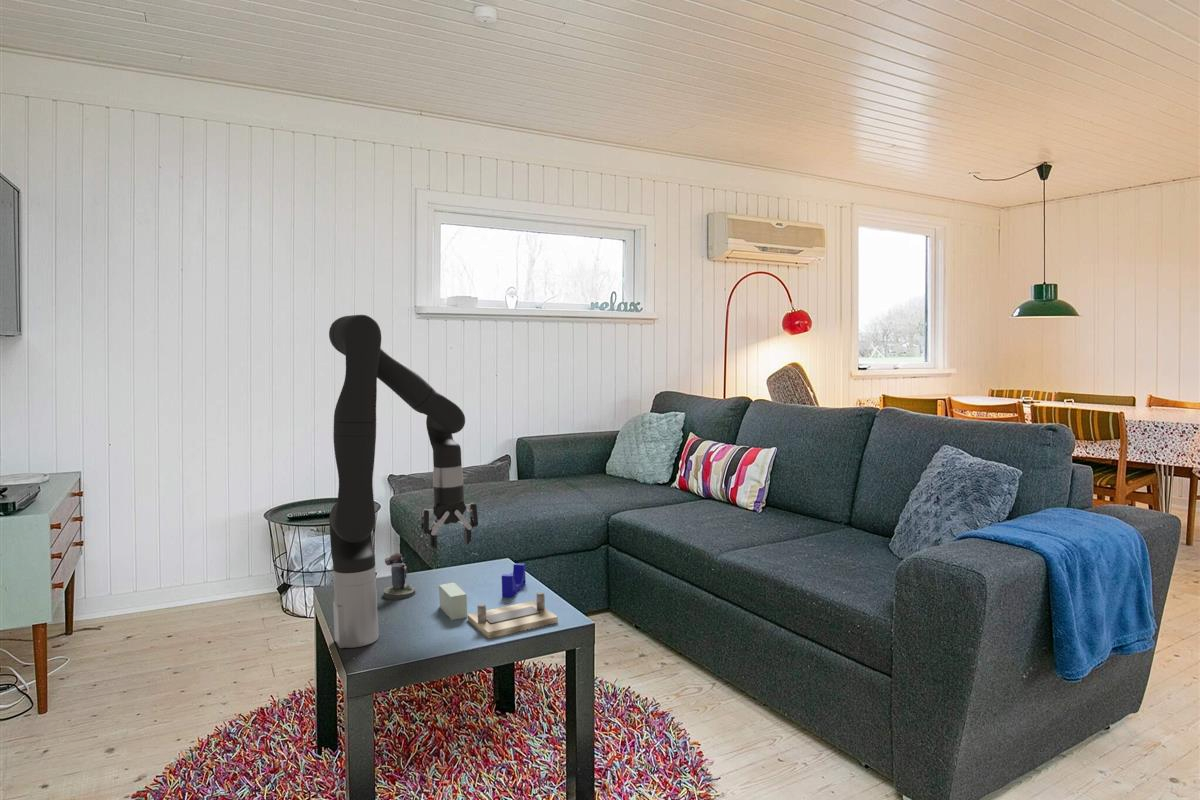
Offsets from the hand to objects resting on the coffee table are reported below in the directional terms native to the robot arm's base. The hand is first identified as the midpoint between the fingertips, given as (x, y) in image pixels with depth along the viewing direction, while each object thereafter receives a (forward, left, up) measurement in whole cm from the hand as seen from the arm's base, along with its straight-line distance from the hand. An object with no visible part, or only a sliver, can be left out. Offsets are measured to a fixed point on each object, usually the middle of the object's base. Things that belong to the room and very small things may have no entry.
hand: (450, 546), depth 184 cm
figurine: (-8, +22, -17) cm, 29 cm away
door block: (0, 0, -17) cm, 17 cm away
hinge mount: (+10, -15, -17) cm, 25 cm away
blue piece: (+19, +8, -17) cm, 27 cm away
